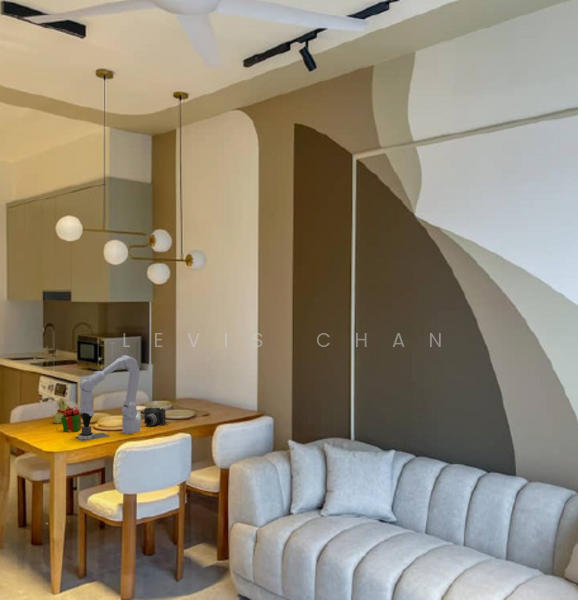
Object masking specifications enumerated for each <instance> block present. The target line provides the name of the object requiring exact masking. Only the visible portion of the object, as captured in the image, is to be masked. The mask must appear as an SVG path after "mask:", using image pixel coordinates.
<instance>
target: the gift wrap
mask: <svg viewBox="0 0 578 600" xmlns="http://www.w3.org/2000/svg"><path fill="white" fill-rule="evenodd" d="M79 411H80V409H78V408H77V407H75V406H74V407H71V408H69V409H68V408H66V410H65V412H64V413H63V415H64V416H62V417H61V422H62V423H61V424H62V428H63V431H62V432H63V433H69V434H71V433H74V432H79V431H82V426H83V425H82V417H81V416H80V414H83V413H82V412H79ZM51 415H52V417H54V416H55V414H53V413H51ZM56 431H59V429H58V428H56Z"/></svg>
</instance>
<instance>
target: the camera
mask: <svg viewBox="0 0 578 600" xmlns="http://www.w3.org/2000/svg"><path fill="white" fill-rule="evenodd" d="M143 413H144V414H143V415H144V418H143V419H144V422H143V424H145V425H146V426H148V427H152V426H154V425H159V426H165V425H166V422H167V421H166V409H165V408H164V407H163V408H160V407H152V406H150V407H145V409H144V411H143Z"/></svg>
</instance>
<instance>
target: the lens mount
mask: <svg viewBox="0 0 578 600" xmlns="http://www.w3.org/2000/svg"><path fill="white" fill-rule="evenodd" d="M109 437H111V435H109V434H107V433H105V432H99V433H95V432H92V431H91V435H88V436H82V432H80V433H78V435H77V436H74V438H75V439H77V440H79V441H81V442H85V441H92V440H98V439H103V438H109Z"/></svg>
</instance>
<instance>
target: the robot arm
mask: <svg viewBox="0 0 578 600" xmlns="http://www.w3.org/2000/svg"><path fill="white" fill-rule="evenodd" d="M117 369H126V370H127V372H129V376H128V384H127V391H126V397H125V400H124V402H123V405H122V406H121V410H120V413H121V414H122V419H121V420H122V425H121V426H122V430H121V431H122V433H123V434H126V435H127V434H128V435H129V434H134V433H142V432H141V419H140V417H139V416H137V415H138V409H137V404H136V402H137V401H136V400H137V392H138V384H139V378H140V372H141V371H140V368H139V364H138V361H137V359H135V358H134V357H133V356H129V355H126V354H124V355H121V356H120V357H118V358H116V359H115V360H114V362H112V363H111V364H109V365H108V366H107V367H105V368H104V369H102V370H97V371H94V373H93V374H91V375H90V376H88V377H86V379H83V380H82V381H80V383H79V388H80V389H81V391H80V407H79V412H80V413H82V414H80V416H81V417H82V419H81V421H82V422H83V426H84V427H89V426H90V424H91V420H92V418H93V417H94V416H95V412H94V410H93V390H94V388H95V386H97V385H99V384H100V383H101V382H103V381H104V380H105V379H106V376H108V375H110V374H111V373H112V372H114V371H115V370H117Z"/></svg>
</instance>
